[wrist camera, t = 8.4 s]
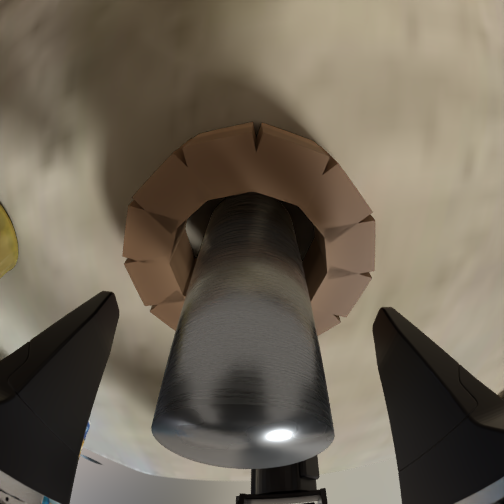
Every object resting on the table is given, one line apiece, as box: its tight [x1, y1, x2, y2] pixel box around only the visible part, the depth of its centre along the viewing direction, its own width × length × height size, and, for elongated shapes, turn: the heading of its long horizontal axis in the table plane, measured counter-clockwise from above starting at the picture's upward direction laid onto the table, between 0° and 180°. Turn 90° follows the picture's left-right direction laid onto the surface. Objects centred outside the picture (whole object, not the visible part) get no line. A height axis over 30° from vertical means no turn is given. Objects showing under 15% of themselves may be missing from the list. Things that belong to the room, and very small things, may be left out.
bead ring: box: [123, 122, 375, 336], centre depth 13 cm, size 10×10×3 cm
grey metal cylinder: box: [151, 192, 334, 469], centre depth 10 cm, size 4×4×10 cm
